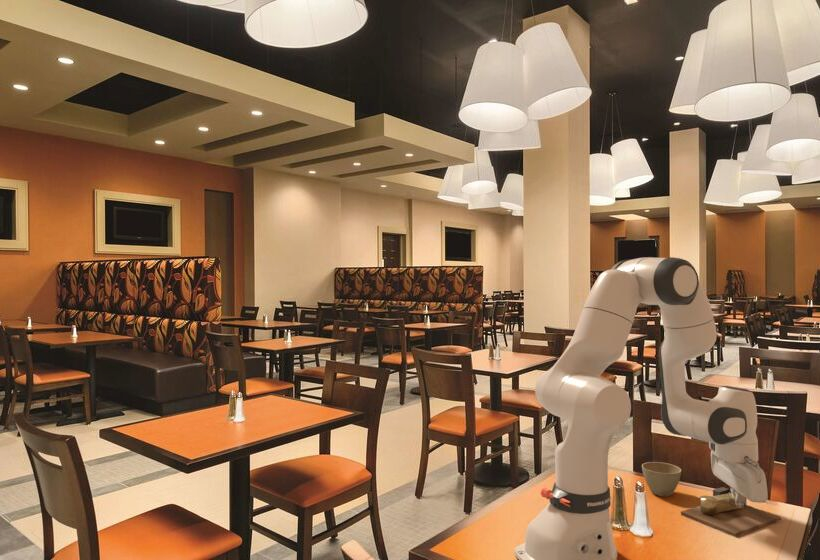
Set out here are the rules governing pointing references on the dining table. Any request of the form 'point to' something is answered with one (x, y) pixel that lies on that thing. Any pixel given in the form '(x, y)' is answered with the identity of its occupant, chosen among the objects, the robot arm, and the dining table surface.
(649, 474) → the flower pot
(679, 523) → the dining table surface
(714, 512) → the bar
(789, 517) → the dining table surface
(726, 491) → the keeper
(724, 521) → the brown wooden board
